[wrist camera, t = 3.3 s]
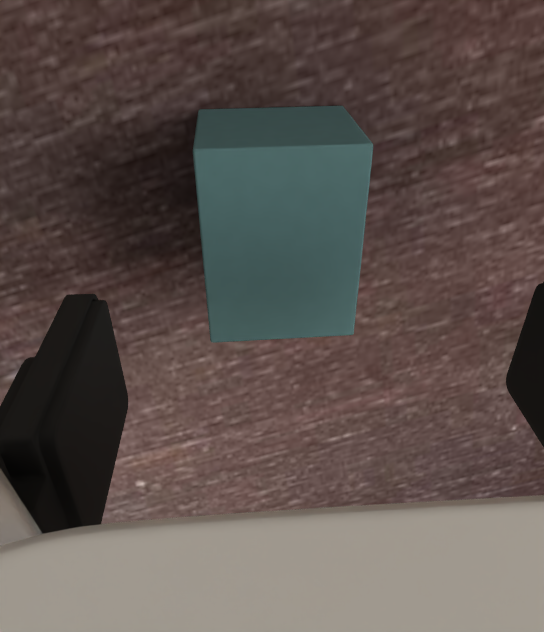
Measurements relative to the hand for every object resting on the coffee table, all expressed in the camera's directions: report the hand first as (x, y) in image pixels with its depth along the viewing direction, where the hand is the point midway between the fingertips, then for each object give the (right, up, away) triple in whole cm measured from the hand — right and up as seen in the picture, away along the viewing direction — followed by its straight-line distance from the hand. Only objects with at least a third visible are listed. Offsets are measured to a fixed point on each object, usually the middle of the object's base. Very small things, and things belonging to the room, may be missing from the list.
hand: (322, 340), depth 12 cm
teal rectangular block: (-1, +5, +6) cm, 8 cm away
